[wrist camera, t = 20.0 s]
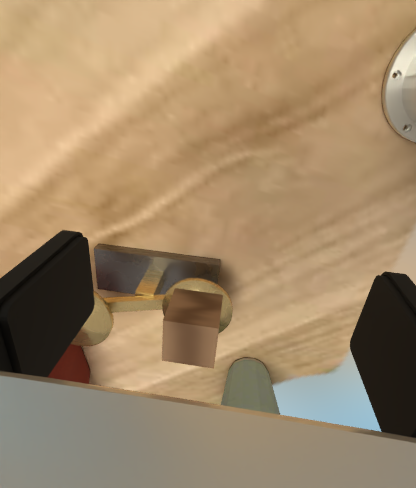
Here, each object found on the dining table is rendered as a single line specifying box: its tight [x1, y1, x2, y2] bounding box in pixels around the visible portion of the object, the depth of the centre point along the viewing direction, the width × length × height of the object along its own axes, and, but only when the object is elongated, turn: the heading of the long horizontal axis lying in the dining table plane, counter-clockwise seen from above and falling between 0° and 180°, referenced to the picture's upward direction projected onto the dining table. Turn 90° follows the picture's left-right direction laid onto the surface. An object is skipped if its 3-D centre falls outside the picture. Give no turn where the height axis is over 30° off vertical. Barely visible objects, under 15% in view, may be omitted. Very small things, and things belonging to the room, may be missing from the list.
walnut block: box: [162, 288, 223, 368], centre depth 37 cm, size 6×6×6 cm
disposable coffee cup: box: [221, 358, 280, 415], centre depth 47 cm, size 11×11×15 cm
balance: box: [71, 244, 233, 346], centre depth 42 cm, size 23×9×12 cm, turn 85°
